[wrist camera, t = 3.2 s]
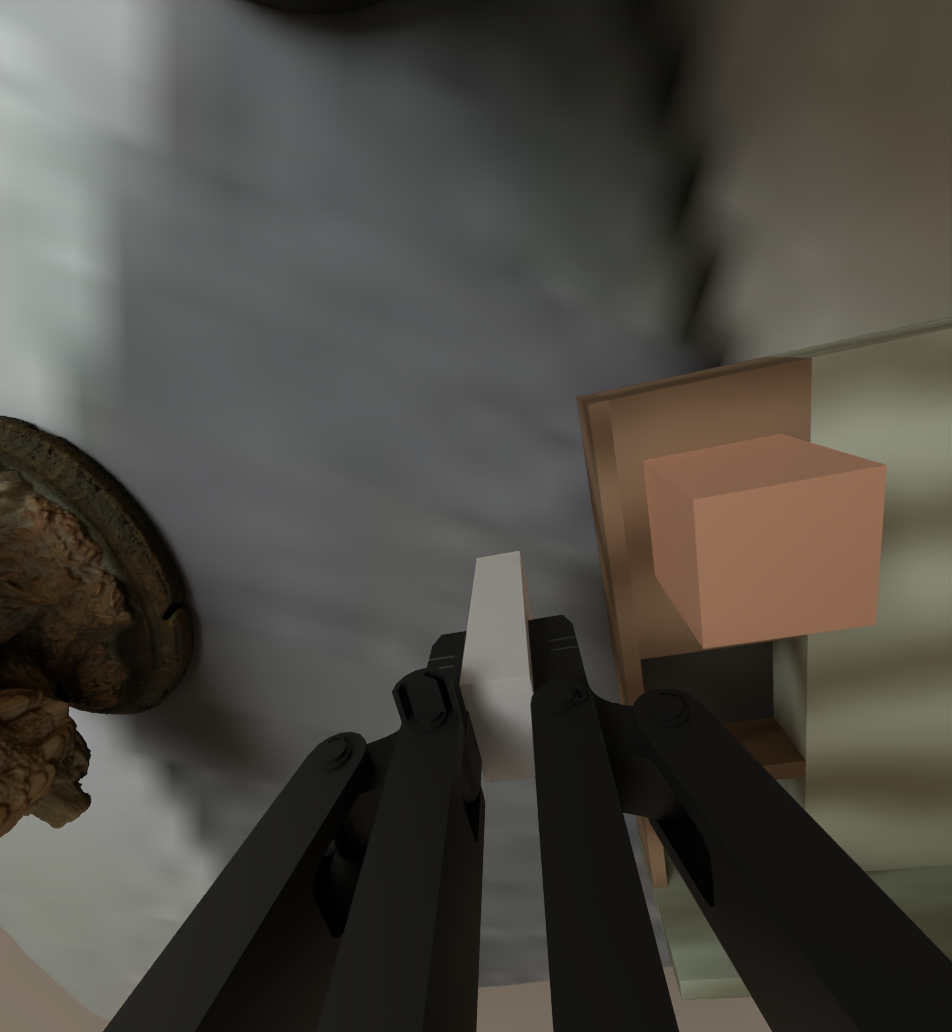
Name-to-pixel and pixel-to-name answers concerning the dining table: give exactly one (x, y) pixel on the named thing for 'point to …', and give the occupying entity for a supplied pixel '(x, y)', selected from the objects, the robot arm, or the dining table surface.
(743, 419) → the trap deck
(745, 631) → the terracotta block
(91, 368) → the dining table surface
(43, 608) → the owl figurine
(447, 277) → the dining table surface
